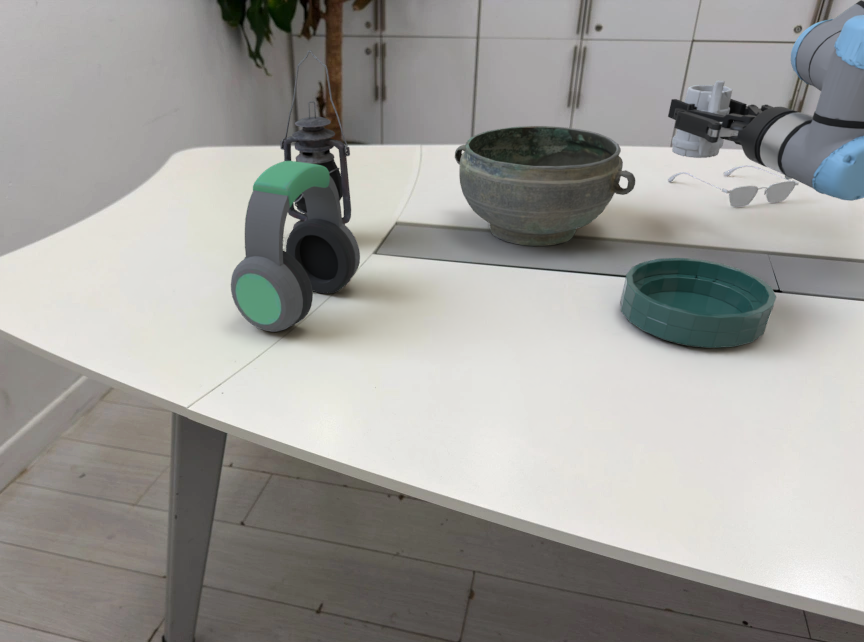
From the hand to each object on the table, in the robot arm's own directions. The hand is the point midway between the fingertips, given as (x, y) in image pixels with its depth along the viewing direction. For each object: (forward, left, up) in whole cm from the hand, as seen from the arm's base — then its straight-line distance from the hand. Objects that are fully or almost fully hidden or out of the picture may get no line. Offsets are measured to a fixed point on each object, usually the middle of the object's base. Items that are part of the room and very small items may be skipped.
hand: (695, 106), depth 110 cm
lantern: (+48, +41, -19) cm, 66 cm away
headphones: (+36, +62, -19) cm, 74 cm away
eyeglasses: (-6, -21, -19) cm, 29 cm away
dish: (-11, +38, -19) cm, 43 cm away
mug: (-3, +4, -7) cm, 8 cm away
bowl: (+19, +18, -19) cm, 32 cm away
